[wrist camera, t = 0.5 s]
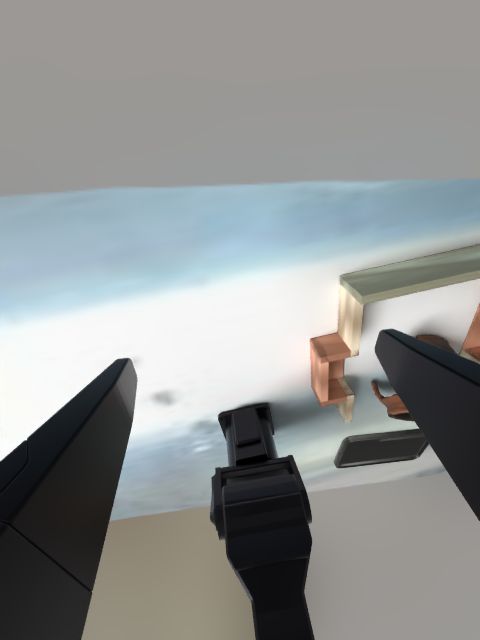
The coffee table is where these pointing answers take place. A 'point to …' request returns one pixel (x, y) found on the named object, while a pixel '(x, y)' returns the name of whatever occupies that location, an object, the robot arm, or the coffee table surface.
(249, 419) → the robot arm
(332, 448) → the coffee table surface
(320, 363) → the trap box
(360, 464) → the phone
